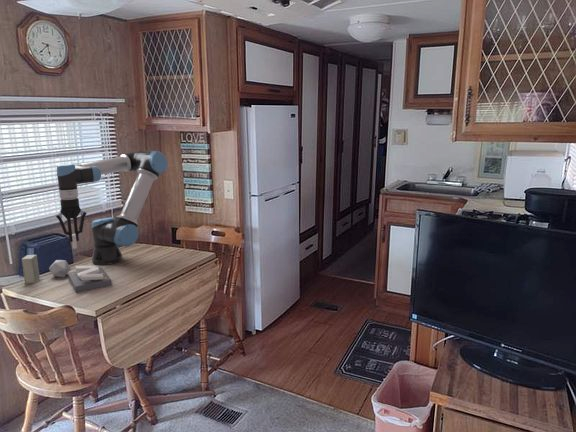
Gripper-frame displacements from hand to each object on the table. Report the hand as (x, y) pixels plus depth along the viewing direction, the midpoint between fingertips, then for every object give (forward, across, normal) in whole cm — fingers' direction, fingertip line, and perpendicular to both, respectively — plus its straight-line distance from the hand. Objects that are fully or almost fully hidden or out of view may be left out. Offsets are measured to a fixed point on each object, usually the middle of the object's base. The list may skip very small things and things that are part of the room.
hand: (75, 248), depth 203 cm
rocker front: (+11, +4, -14) cm, 18 cm away
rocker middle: (+11, +4, -7) cm, 14 cm away
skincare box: (+16, -18, +11) cm, 26 cm away
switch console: (+16, +4, -7) cm, 17 cm away
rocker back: (+11, +4, 0) cm, 12 cm away
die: (+16, -6, +11) cm, 20 cm away
